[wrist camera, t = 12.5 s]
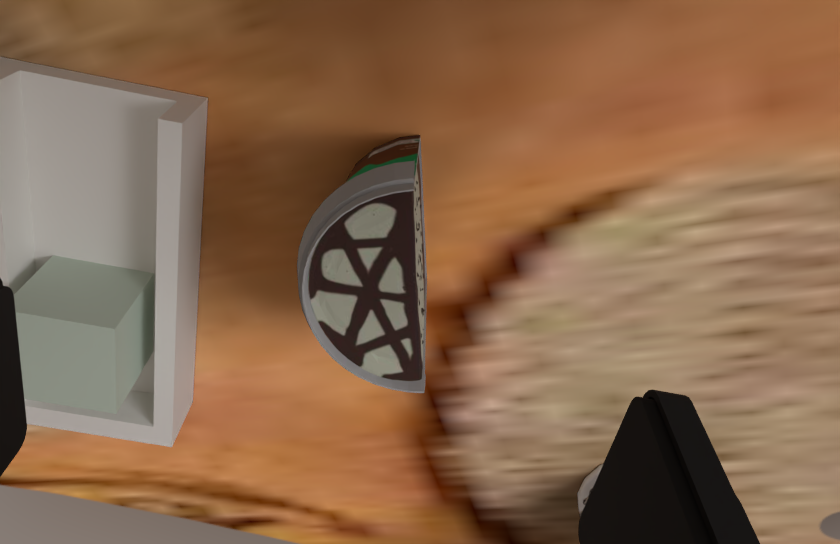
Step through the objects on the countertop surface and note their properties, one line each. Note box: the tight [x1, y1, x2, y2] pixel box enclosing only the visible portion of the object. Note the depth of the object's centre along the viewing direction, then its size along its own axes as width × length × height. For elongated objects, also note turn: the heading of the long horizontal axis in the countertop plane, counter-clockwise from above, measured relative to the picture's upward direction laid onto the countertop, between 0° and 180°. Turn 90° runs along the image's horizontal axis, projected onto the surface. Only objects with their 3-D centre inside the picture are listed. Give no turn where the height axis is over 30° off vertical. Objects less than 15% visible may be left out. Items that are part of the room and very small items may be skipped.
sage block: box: [14, 255, 154, 414], centre depth 42 cm, size 6×6×6 cm
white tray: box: [0, 57, 208, 447], centre depth 42 cm, size 22×20×4 cm
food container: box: [297, 135, 427, 393], centre depth 38 cm, size 12×6×10 cm, turn 3°
